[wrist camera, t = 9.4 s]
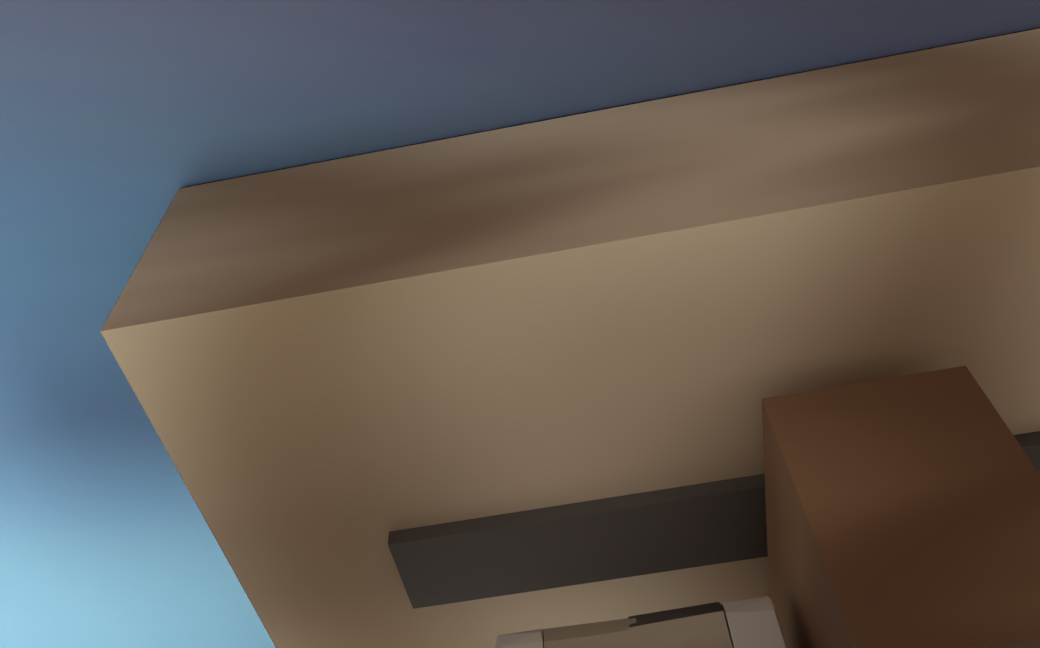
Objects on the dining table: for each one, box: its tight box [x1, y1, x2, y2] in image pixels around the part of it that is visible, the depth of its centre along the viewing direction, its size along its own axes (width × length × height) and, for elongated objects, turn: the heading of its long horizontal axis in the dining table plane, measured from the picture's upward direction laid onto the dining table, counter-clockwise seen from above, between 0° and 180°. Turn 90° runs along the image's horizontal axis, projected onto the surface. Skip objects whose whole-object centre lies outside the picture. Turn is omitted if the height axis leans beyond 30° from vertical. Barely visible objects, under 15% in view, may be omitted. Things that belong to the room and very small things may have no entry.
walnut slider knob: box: [762, 366, 1040, 648], centre depth 9 cm, size 2×4×3 cm, turn 10°
